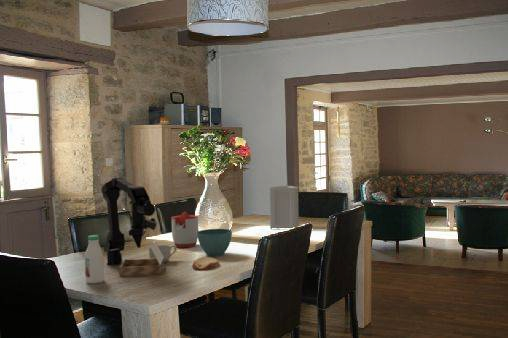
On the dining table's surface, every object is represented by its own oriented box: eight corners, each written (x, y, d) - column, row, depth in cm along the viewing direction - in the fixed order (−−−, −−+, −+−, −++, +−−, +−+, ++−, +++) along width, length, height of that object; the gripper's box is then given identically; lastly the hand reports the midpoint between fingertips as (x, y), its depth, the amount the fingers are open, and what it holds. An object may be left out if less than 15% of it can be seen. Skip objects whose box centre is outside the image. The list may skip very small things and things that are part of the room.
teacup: (149, 265, 263) (149, 248, 263) (148, 260, 274) (147, 244, 273) (178, 262, 267) (178, 246, 267) (175, 258, 277) (175, 242, 277)
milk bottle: (106, 279, 237) (104, 234, 236) (101, 283, 230) (100, 237, 229) (88, 279, 237) (86, 234, 236) (83, 284, 230) (81, 237, 229)
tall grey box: (303, 226, 370) (302, 186, 368) (296, 230, 356) (296, 187, 355) (277, 225, 377) (276, 185, 376) (269, 229, 363) (268, 187, 362)
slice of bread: (208, 260, 273) (208, 252, 272) (230, 266, 259) (230, 258, 259) (178, 266, 261) (178, 258, 261) (199, 272, 247) (199, 264, 247)
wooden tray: (119, 276, 242) (119, 267, 242) (125, 267, 258) (124, 259, 258) (159, 274, 244) (159, 265, 243) (163, 266, 259) (162, 258, 259)
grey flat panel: (150, 247, 243) (151, 246, 243) (154, 241, 258) (155, 240, 258) (159, 264, 244) (160, 264, 244) (162, 257, 259) (163, 257, 259)
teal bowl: (227, 258, 274) (226, 234, 273) (193, 258, 277) (192, 234, 277) (235, 251, 291) (235, 228, 291) (203, 250, 295) (202, 228, 294)
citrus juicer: (166, 249, 302) (165, 213, 301) (177, 243, 319) (176, 209, 318) (192, 249, 299) (191, 213, 298) (203, 243, 315) (202, 209, 314)
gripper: (153, 216, 241) (154, 251, 242) (157, 211, 259) (158, 243, 260) (128, 217, 240) (129, 251, 241) (134, 211, 258) (135, 244, 259)
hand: (139, 247), depth 250 cm, fingers closed
